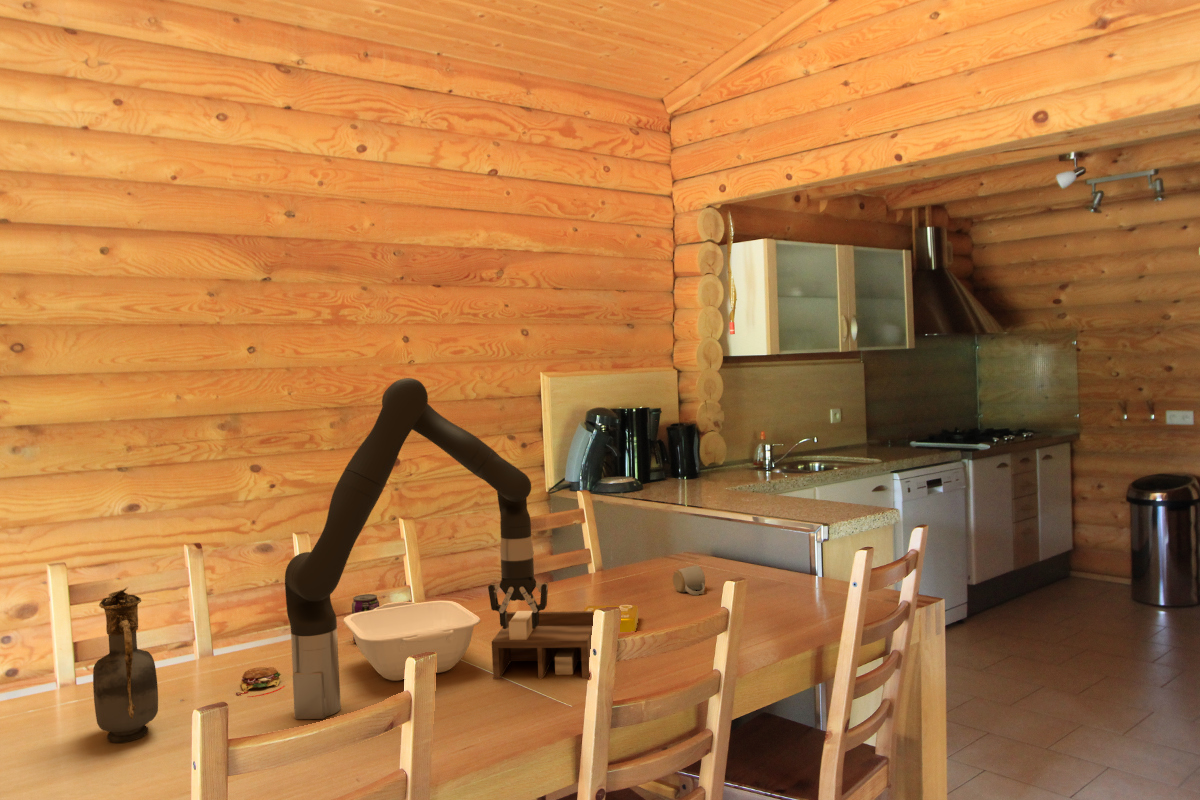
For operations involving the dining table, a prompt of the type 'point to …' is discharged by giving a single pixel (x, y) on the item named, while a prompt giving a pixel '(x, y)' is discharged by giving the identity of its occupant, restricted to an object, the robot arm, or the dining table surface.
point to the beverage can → (364, 603)
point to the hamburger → (260, 679)
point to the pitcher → (124, 674)
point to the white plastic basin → (412, 634)
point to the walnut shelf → (548, 644)
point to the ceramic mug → (689, 580)
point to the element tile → (623, 616)
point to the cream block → (520, 625)
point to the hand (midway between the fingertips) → (520, 627)
